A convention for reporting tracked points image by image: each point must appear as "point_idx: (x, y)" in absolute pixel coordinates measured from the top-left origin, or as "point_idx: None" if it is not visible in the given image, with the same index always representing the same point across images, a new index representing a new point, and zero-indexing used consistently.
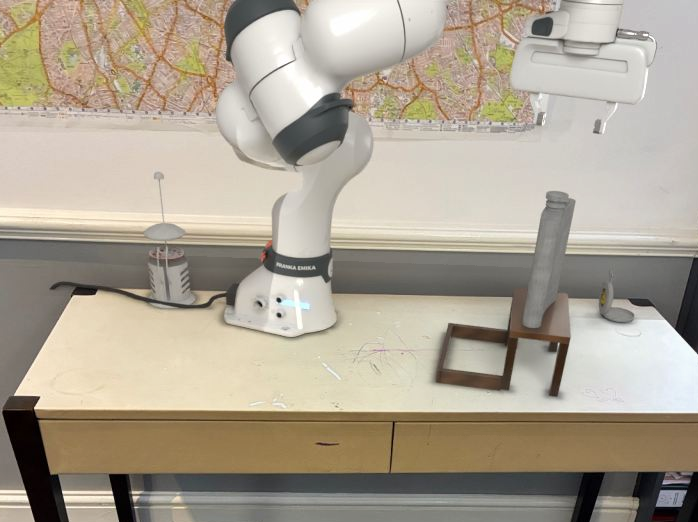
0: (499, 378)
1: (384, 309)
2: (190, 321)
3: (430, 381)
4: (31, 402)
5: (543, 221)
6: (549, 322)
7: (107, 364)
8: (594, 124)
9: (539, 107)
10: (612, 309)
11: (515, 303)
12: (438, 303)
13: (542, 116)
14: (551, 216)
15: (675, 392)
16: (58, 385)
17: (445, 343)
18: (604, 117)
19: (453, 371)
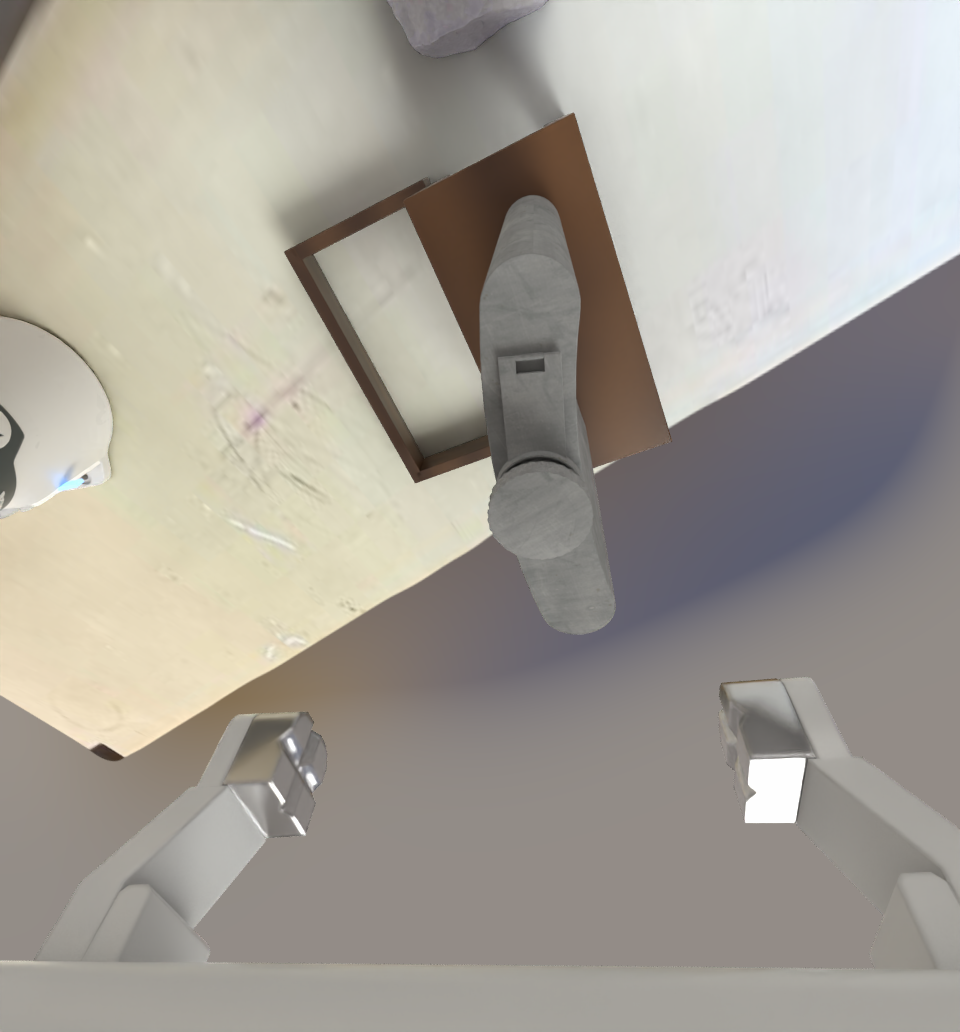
0: None
1: (79, 210)
2: None
3: None
4: (109, 752)
5: (561, 631)
6: (597, 392)
7: (56, 672)
8: (736, 794)
9: (204, 829)
10: None
11: (469, 330)
12: (122, 33)
13: (304, 820)
14: (565, 575)
15: (928, 163)
16: (84, 723)
17: (355, 370)
18: (842, 862)
19: (443, 471)
